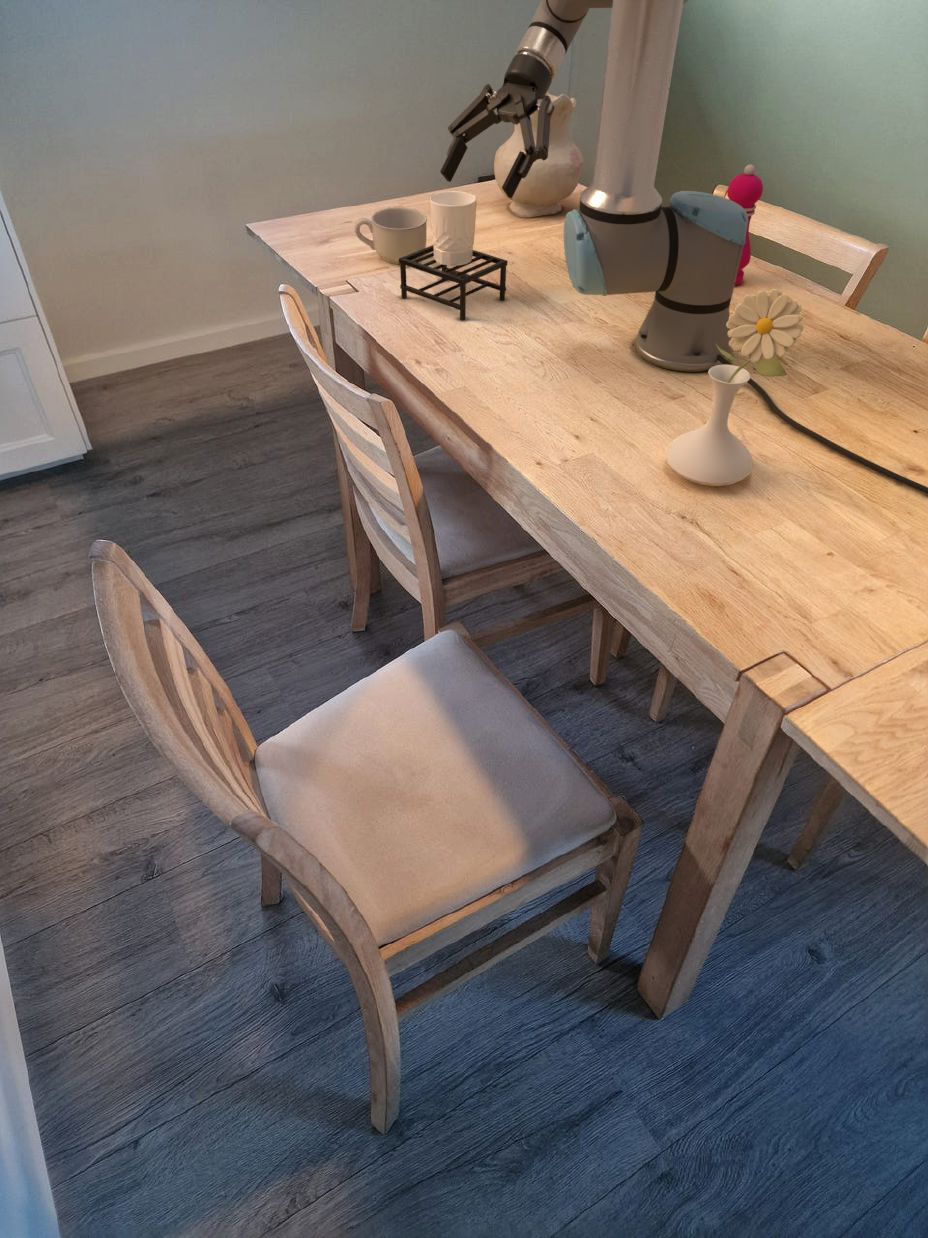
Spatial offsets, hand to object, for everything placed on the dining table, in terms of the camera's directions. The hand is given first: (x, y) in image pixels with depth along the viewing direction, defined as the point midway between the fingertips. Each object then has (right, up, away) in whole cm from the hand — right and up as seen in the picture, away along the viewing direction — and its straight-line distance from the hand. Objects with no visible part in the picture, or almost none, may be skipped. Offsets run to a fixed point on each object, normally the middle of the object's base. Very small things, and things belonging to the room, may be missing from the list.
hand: (475, 184), depth 142 cm
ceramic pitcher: (+14, +19, +47) cm, 53 cm away
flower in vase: (+31, -55, -31) cm, 70 cm away
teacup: (-16, -2, +24) cm, 29 cm away
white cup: (-4, -11, +5) cm, 12 cm away
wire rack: (-4, -16, +9) cm, 19 cm away
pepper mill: (+48, -10, +17) cm, 52 cm away
